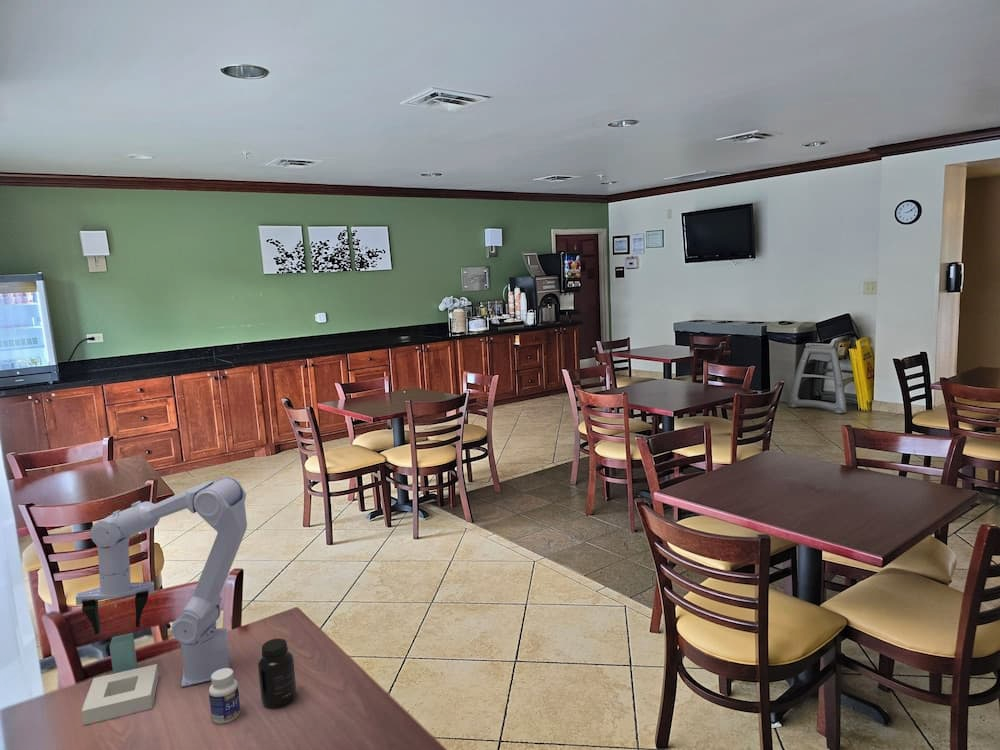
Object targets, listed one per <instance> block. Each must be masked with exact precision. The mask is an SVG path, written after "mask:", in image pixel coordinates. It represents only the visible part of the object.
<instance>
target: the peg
mask: <svg viewBox="0 0 1000 750" xmlns="http://www.w3.org/2000/svg"><path fill="white" fill-rule="evenodd" d="M109 653H110V659H111V668H112V669H111V670H112V672H113V673H112V674H114V673H119V672H123V671H128V670H132V669H137V668H138V661H137V653H136V644H135V637H134V633H133V632H130V633H126V634H121V635H115V636H112V638H111V641H110V644H109Z"/></svg>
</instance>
